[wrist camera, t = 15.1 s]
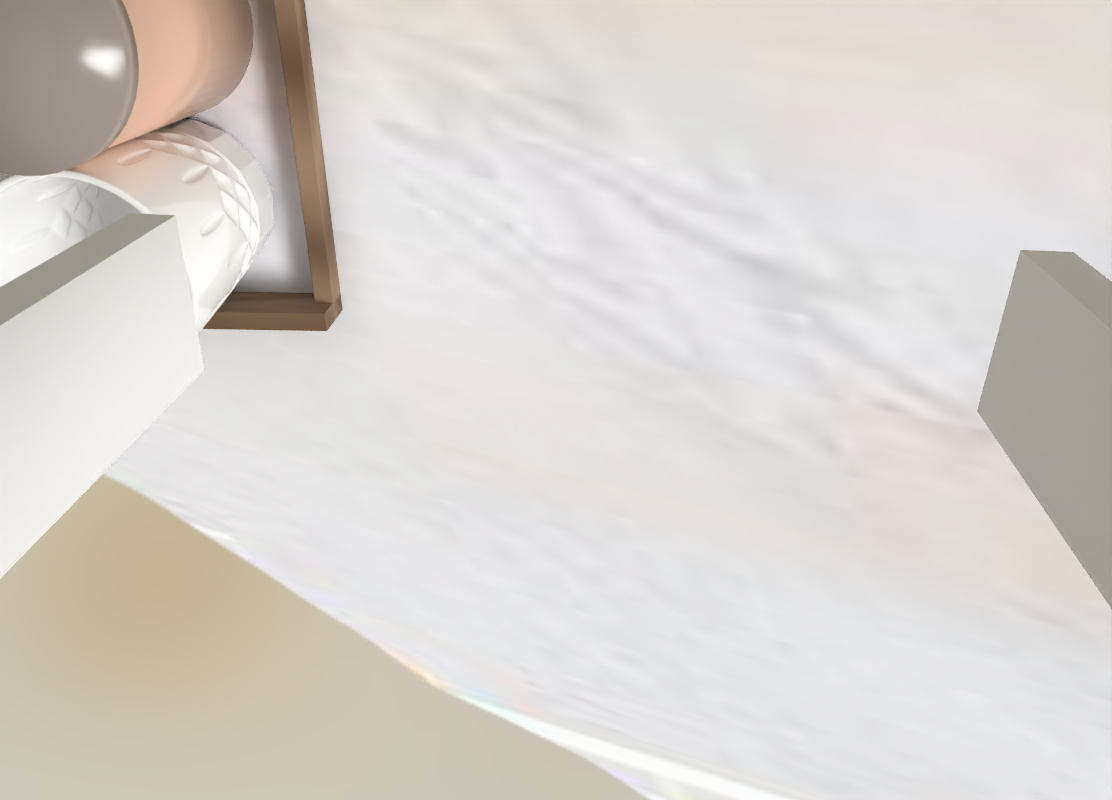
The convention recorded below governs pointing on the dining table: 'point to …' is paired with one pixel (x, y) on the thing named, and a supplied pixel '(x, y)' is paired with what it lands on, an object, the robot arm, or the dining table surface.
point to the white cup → (149, 206)
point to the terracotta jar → (110, 73)
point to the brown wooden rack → (302, 104)
